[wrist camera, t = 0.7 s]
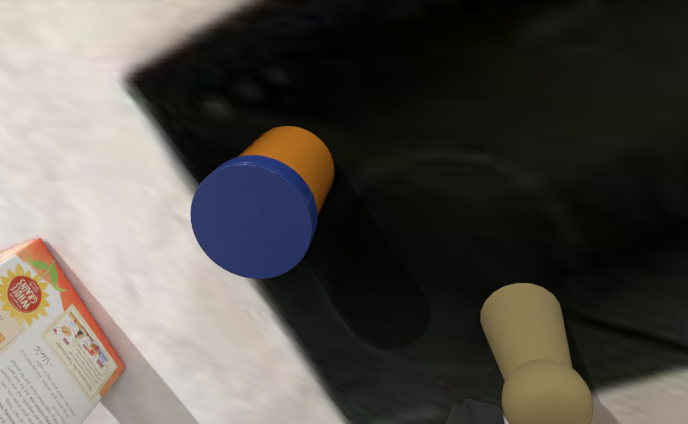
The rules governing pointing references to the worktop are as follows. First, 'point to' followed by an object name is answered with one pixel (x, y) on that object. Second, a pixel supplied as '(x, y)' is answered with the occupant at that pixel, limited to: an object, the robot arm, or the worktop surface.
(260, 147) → the jar
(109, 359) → the cracker box
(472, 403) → the robot arm
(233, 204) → the lid
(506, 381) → the cork
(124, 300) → the worktop surface
